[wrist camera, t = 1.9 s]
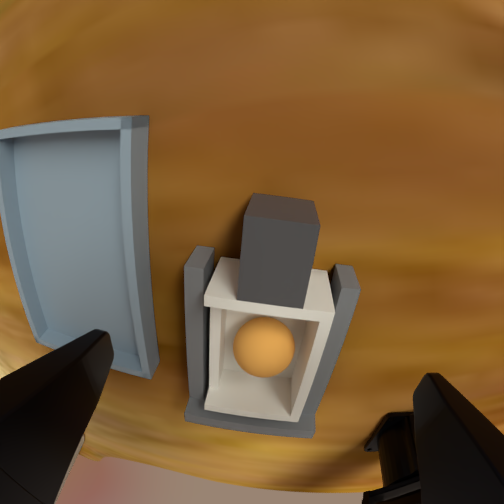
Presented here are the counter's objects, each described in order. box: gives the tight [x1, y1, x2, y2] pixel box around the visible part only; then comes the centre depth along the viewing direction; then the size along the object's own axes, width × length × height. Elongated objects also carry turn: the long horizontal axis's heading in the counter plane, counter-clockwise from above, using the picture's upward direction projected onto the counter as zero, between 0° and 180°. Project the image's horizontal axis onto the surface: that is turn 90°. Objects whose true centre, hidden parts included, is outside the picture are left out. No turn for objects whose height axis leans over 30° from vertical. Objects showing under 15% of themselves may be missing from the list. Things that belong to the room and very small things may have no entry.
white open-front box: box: [204, 193, 335, 422], centre depth 17 cm, size 13×6×4 cm, turn 174°
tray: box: [0, 115, 160, 379], centre depth 18 cm, size 17×11×2 cm, turn 174°
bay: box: [184, 245, 361, 438], centre depth 18 cm, size 12×9×4 cm
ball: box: [233, 317, 295, 378], centre depth 17 cm, size 4×4×4 cm
